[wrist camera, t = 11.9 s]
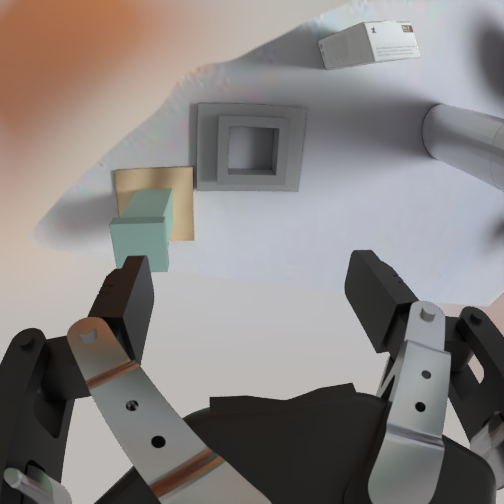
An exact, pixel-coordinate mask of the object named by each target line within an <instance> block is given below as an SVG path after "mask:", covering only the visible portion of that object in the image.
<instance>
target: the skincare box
mask: <svg viewBox="0 0 504 504" xmlns="http://www.w3.org/2000/svg"><path fill="white" fill-rule="evenodd" d="M318 45H319V48H320V52H321V55H322V58H323V62H324V65H325V68H326V69H327V70H331V69H340V68H347V67H354V66H360V65H366V64H373V63H380V62H387V61H395V60H403V59H410V58H420V54H419V50H418V46H417V43H416V39H415V36H414V33H413V29H412V26H411V23H410V22H404V21H377V22H362V23H359V24H357V25H354V26H352V27H349V28H347V29H345V30H342V31H340V32H337V33H335V34H333V35H330V36H328V37H326V38H324V39H321V40H319V41H318Z"/></svg>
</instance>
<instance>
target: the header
mask: <svg viewBox="0 0 504 504" xmlns="http://www.w3.org/2000/svg"><path fill="white" fill-rule="evenodd" d="M305 120H306V108H297V107H287V106H274V105H259V104H236V103H198V119H197V191H289V192H298V189H299V180H300V171H301V161H302V152H303V141H304V131H305ZM229 126H238V127H264V128H274V137H273V150H272V164H271V169H228V149H229Z"/></svg>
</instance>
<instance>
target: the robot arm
mask: <svg viewBox="0 0 504 504" xmlns="http://www.w3.org/2000/svg"><path fill="white" fill-rule="evenodd" d="M422 135H423V141H424V145H425V147H426V150H427V151H428V152H429V154H430V155H431V156H432V157H434V158H436V159H438V160H440V161H442V162H445V163H447V164H449V165H451V166H453V167H456V168H458V169H460V170H462V171H464V172H466V173H468V174H470V175H472V176H474V177H476V178H478V179H480V180H482V181H484V182H486V183H488V184H490V185H492V186H494V187H496V188H498V189H500V190H502V191H503V192H504V119H502V118H498V117H495V116H491V115H488V114H484V113H480V112H476V111H472V110H468V109H463V108H459V107H454V106H449V105H444V104H439V105H436V106H434V107H432V108H431V109H430V110H429V112H428V113H427V115H426V117H425V119H424V123H423V129H422ZM345 294H346V297H347V299H348V301H349V303H350V304H351V306H352V308H353V310H354V312H355V313H356V315H357V317H358V319H359V321H360V323H361V324H362V326H363V328H364V330H365V332H366V334H367V336H368V338H369V339H370V341H371V343H372V345H373V347H374V348H375V351H376V353H382V352H388V351H389V353H390V356H389V357H388V360H387V363H386V366H385V369H384V372H383V375H382V379H381V382H380V385H379V388H378V391H377V394H376V396H374V395H371V394H366V393H360V392H356V390H355V388H354V385H353V383H348V384H343V385H336V386H330V387H324V388H319V389H316V390H314V391H311V392H309V393H306V394H303V395H300V396H297V397H295V398H292V399H289V400H277V399H268V398H260V397H253V396H229V397H210V407H209V408H205V409H202V410H199V411H196V412H194V413H191V414H189V415H187V416H186V417H184V418H181V417H180V416H179V415H178V414H177V412H176V411H175V410H174V409H173V408H172V406H171V405H170V404H169V403H168V402H167V400H166V399H165V398H164V397H163V396H162V394H161V393H160V392H159V391H158V389H157V388H156V386H155V385H154V384H153V383H152V381H151V380H150V379H149V377H148V376H147V375H146V373H145V372H144V371H143V369H142V368H141V367H140V365H141V360H142V355H143V349H144V345H145V340H146V336H147V331H148V327H149V322H150V318H151V313H152V309H153V305H154V289H153V283H152V278H151V272H150V266H149V260H148V257H147V255H133V256H127V258H126V260H125V262H124V264H123V266H122V268H121V269H114V270H113V271H112V272H111V273H110V274H109V275H108V276H106V279H105V280H104V283H103V285H102V287H101V289H100V291H99V294H98V295H97V297H96V299H95V301H94V303H93V306H92V308H91V310H90V312H89V314H88V317H87V318H83V319H81V320H79V321H77V322H75V323H74V324H73V325H72V326H71V327H70V329H69V330H68V333H67V336H62V337H57V338H52V339H46V338H45V336H44V334H43V332H42V331H41V330H39V329H36V328H29V329H25V330H23V331H21V332H19V333H18V334H17V335H16V336H15V337H14V338H13V339H12V341H11V343H10V345H9V347H8V349H7V351H6V353H5V356H4V357H3V360H2V362H1V364H0V504H72V500H71V497H70V494H69V493H68V491H67V490H66V489H65V487H64V486H63V485H61V477H62V469H63V462H64V455H65V448H66V442H67V436H68V431H69V426H70V420H71V416H72V411H73V406H74V402H75V399H77V398H83V397H89V396H92V397H93V399H94V401H95V403H96V404H97V407H98V408H99V410H100V412H101V414H102V416H103V417H104V419H105V421H106V423H107V424H108V426H109V428H110V429H111V431H112V433H113V434H114V436H115V438H116V439H117V441H118V442H119V444H120V446H121V447H122V449H123V450H124V452H125V453H126V455H127V456H128V458H129V459H130V461H131V462H132V464H133V465H134V466H133V467H132V468H131V469H130V470H129V471H128V472H127V473H126V474H125V475H124V476H123V477H122V478H121V479H119V481H118V482H116V483H115V484H114V485H113V486H112V487H111V488H110V489H109V490H108V491H107V492H106V493H105V494H104V495H103V496H102V497H101V498H99V500H97V501H96V502H95V503H94V504H496V490H500V489H502V488H504V337H503V335H502V334H501V333H500V331H499V330H498V329H497V328H496V326H495V325H494V324H493V322H492V321H491V320H490V319H489V317H488V316H487V315H486V314H485V313H484V312H483V311H481V310H480V309H478V308H475V307H470V306H469V307H465V308H464V309H462V311H461V314H460V315H459V317H448V316H445V315H444V313H443V311H442V310H441V309H440V308H439V307H438V306H436V305H435V304H433V303H430V302H427V301H419V300H418V298H417V297H416V296H415V295H414V293H413V292H412V291H411V290H410V288H409V287H408V286H407V285H406V284H405V283H404V282H403V280H402V279H401V277H399V276H398V274H397V273H396V271H395V270H394V269H393V268H392V267H391V266H389V265H388V264H386V263H384V262H383V261H381V260H380V259H379V258H378V257H377V256H376V254H375V253H374V252H373V251H372V250H354V251H353V252H352V254H351V258H350V262H349V267H348V271H347V276H346V280H345ZM474 354H475V356H476V357H477V359H478V361H479V362H480V364H481V365H482V367H483V369H484V378H483V380H482V382H481V383H480V384H479V382H478V380H477V379H476V377H475V375H474V374H473V372H472V370H471V369H470V367H469V365H468V363H469V361H470V359H471V358H472V356H473V355H474ZM448 397H449V399H450V401H451V403H452V406H453V407H454V410H455V412H456V414H457V416H458V418H459V420H460V422H461V424H462V427H463V429H464V431H465V433H466V436H467V438H468V440H469V442H470V450H469V449H467V448H466V447H464V446H462V445H460V444H458V443H457V442H455V441H453V440H451V439H450V438H448V437H446V436H445V435H443V434H442V432H443V427H444V420H445V413H446V407H447V398H448Z"/></svg>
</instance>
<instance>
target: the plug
mask: <svg viewBox="0 0 504 504" xmlns="http://www.w3.org/2000/svg"><path fill="white" fill-rule="evenodd" d="M173 223H174V213H173V190H172V188H166V189H140V190H137V192H136V193H135V195H134V196H133V198H132V199H131V201H130V202H129V204H128V205H127V207H126V208H125V210H124V212H123V213H122V215H121V216H120V218H113V220H112V221H111V223H110V224H109V226H110V233H111V239H112V245H113V250H114V256H115V261H116V266H117V269H121V268H122V266H123V264H124V262H125V260H126V258H127V256H133V255H147V257H148V260H149V266H150V272H168V267H169V259H168V246H169V241H170V236H171V232H172V227H173Z"/></svg>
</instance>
